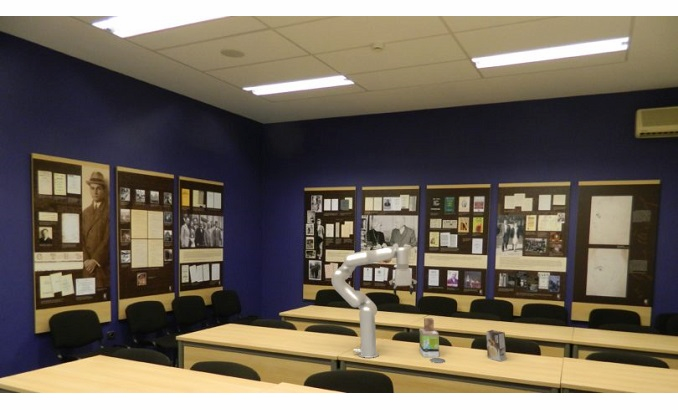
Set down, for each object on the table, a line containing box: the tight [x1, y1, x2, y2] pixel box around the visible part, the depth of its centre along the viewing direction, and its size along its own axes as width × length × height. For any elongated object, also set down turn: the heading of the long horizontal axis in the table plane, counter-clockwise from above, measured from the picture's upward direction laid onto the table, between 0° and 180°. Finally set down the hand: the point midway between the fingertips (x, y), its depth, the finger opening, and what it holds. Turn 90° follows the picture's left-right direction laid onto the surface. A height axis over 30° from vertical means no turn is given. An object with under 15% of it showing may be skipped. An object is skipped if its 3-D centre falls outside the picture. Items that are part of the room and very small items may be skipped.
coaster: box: [429, 357, 446, 364], centre depth 261 cm, size 9×9×1 cm
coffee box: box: [486, 329, 507, 362], centre depth 263 cm, size 9×6×16 cm
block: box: [423, 317, 435, 331], centre depth 277 cm, size 5×5×7 cm
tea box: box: [418, 327, 440, 358], centre depth 276 cm, size 15×10×15 cm, turn 179°
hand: (403, 294), depth 272 cm, fingers open, 9 cm apart
